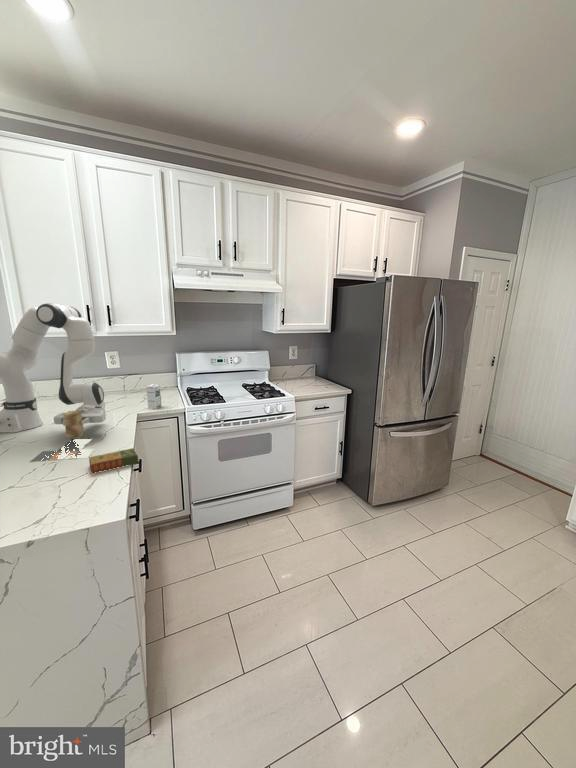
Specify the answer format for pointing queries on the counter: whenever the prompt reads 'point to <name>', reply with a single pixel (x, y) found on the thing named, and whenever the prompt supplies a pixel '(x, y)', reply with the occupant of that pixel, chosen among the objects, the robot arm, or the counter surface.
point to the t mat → (48, 453)
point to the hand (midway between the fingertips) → (73, 423)
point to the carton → (113, 460)
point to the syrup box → (153, 396)
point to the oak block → (73, 424)
